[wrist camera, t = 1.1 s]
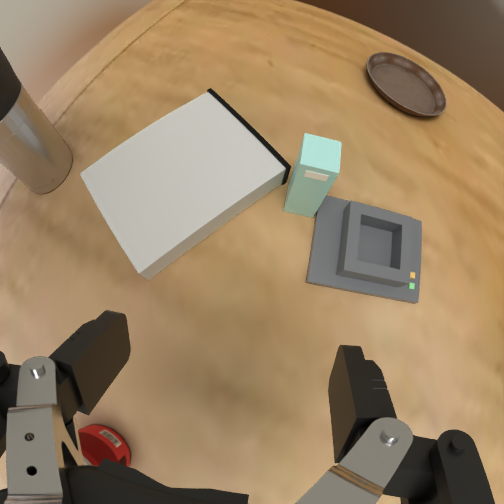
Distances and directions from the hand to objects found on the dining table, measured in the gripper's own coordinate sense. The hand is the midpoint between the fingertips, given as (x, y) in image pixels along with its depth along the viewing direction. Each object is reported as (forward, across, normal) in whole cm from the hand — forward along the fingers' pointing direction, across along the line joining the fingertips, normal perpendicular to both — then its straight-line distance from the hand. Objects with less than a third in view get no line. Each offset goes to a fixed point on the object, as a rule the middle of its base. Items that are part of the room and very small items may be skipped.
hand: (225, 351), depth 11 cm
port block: (+31, -14, +4) cm, 34 cm away
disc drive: (+32, +13, -2) cm, 35 cm away
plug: (+33, -4, -1) cm, 33 cm away
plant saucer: (+51, -23, -24) cm, 61 cm away
